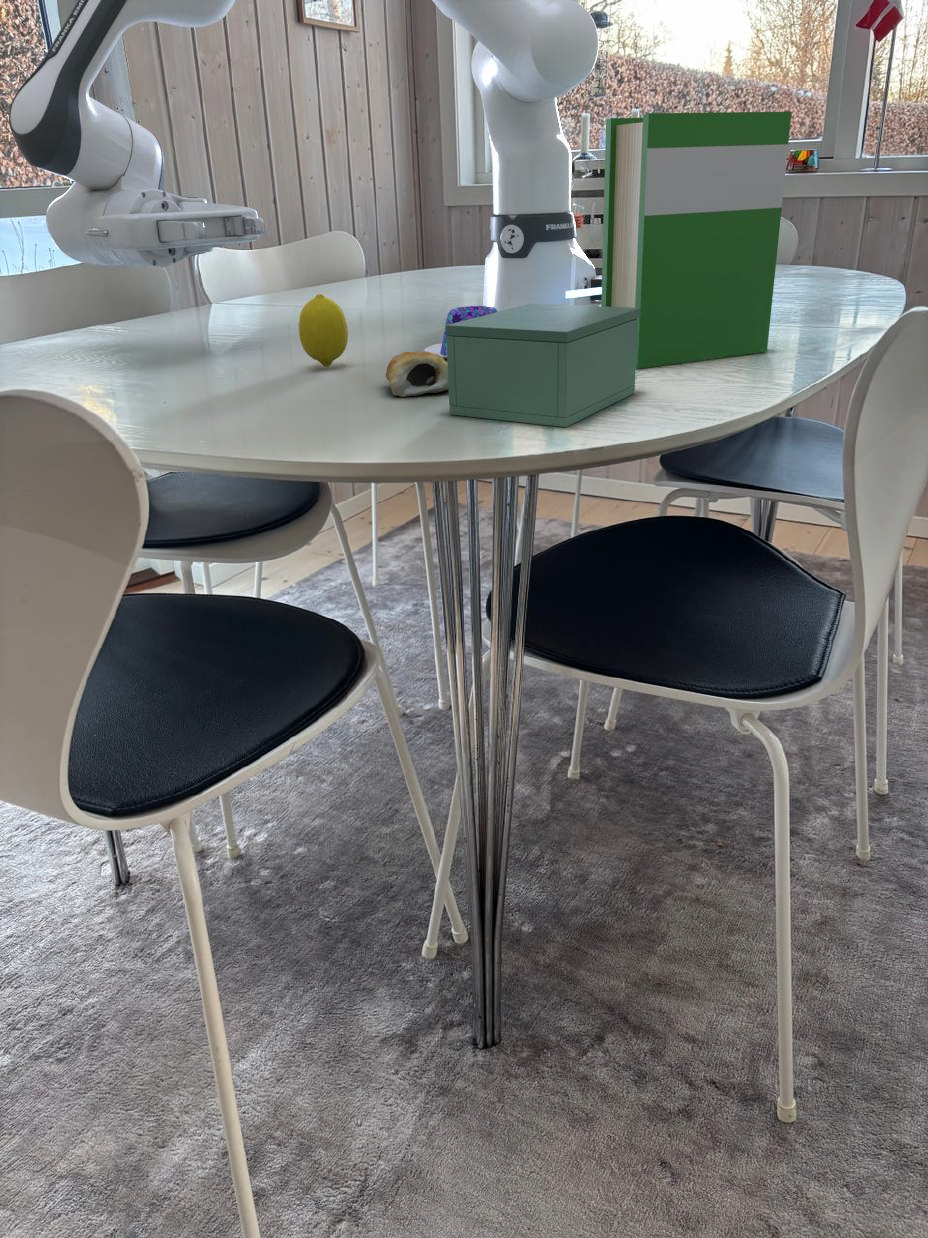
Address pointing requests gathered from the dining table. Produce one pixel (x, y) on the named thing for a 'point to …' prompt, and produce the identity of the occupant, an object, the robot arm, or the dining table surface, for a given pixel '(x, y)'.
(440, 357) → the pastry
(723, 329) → the hardback book
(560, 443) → the dining table surface
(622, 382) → the box
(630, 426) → the dining table surface
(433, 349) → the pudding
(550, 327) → the sage green box lid
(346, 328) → the lemon
